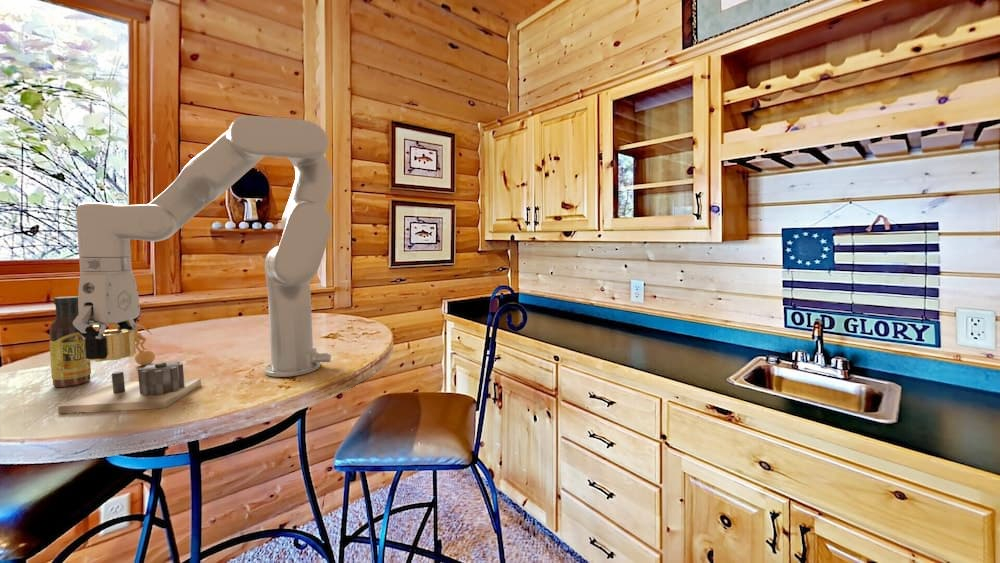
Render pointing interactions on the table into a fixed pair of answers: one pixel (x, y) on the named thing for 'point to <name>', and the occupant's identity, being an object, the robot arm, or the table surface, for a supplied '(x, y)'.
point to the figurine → (143, 355)
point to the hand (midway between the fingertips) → (112, 352)
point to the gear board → (136, 391)
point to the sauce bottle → (67, 346)
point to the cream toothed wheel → (118, 344)
